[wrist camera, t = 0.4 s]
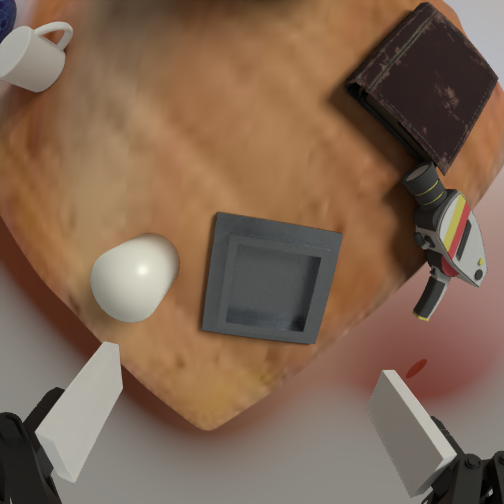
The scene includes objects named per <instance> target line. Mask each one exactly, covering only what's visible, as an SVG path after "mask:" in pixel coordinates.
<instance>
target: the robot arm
mask: <svg viewBox="0 0 504 504" xmlns="http://www.w3.org/2000/svg"><path fill="white" fill-rule="evenodd" d="M122 389H123V386H122V377H121V368H120V356H119V345H118V344H113V343H109V342H105V341H104V343H103V344H102V345H101V346H100V348H99V349H98V350H97V351H96V353H95V354H94V355H93V356H92V357H91V359H90V360H89V361H88V362H87V364H86V365H85V366H84V367H83V369H82V370H81V371H80V372H79V374H78V375H77V376H76V377H75V379H74V380H73V382H72V383H71V384H70V385H69V387H68V388H67V389H66V390H64V389H61V388H58V387H56V388H54V389H52V390H50V391H49V392H47V393H46V395H45V396H44V397H43V398H42V401H40V402H39V403H38V404H37V407H35V408H34V409H33V411H32V412H31V413H30V414H29V416H28V417H27V418H26V420H25V421H24V422H23V423H22V421H21V419H20V418H19V417H18V416H17V415H16V414H13V413H9V412H4V413H0V504H10V497H11V501H12V504H62V503H61V500H60V498H59V495H58V493H57V490H56V487H55V485H54V482H53V479H52V477H51V475H50V474H51V472H52V470H53V468H54V470H55V472H56V473H57V475H58V476H59V477H62V478H64V479H66V480H68V481H71V482H73V483H75V482H76V480H77V478H78V475H79V473H80V471H81V469H82V467H83V465H84V463H85V461H86V459H87V457H88V455H89V453H90V451H91V449H92V447H93V445H94V442H95V441H96V438H97V437H98V435H99V433H100V431H101V429H102V427H103V425H104V423H105V421H106V419H107V417H108V415H109V413H110V411H111V410H112V408H113V406H114V404H115V402H116V400H117V398H118V396H119V394H120V393H121V391H122ZM366 411H367V413H368V415H369V417H370V419H371V421H372V423H373V425H374V427H375V429H376V431H377V433H378V434H379V436H380V438H381V440H382V442H383V444H384V446H385V448H386V450H387V452H388V454H389V456H390V458H391V460H392V462H393V464H394V466H395V468H396V470H397V472H398V474H399V476H400V478H401V480H402V482H403V484H404V486H405V488H406V490H407V492H408V494H409V496H410V498H411V497H414V496H417V495H420V494H423V493H424V492H425V491H426V490H427V489H428V488H429V487H430V486H431V487H432V488H433V491H432V492H431V493H430V494H429V495H428V496H427V497H426V498H425V499H424V500H423V501H422V503H421V504H424V503H425V502H426V501H427V500H428V502H427V504H504V451H498V452H497V453H495V455H494V456H493V457H492V458H491V459H488V460H481V459H480V458H479V457H478V456H476V455H474V454H464V452H463V451H462V449H461V448H460V447H459V446H458V444H457V443H456V441H455V440H454V439H453V437H452V436H451V435H450V433H449V432H448V431H447V430H446V428H445V427H444V425H443V424H442V423H441V422H440V421H439V420H438V419H436V418H435V417H434V416H431V417H430V416H429V415H428V414H427V412H426V411H425V410H424V408H423V407H422V406H421V404H420V403H419V402H418V400H417V399H416V398H415V396H414V395H413V394H412V392H411V391H410V390H409V389H408V387H407V386H406V385H405V383H404V382H403V381H402V380H401V378H400V377H399V376H398V375H397V373H396V372H395V370H383V371H382V372H381V375H380V377H379V380H378V382H377V385H376V387H375V389H374V392H373V394H372V396H371V398H370V401H369V403H368V405H367V407H366ZM491 489H492V490H493V494H492V495H491V496H489V493H488V492H489V491H490V490H491Z"/></svg>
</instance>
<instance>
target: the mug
mask: <svg viewBox="0 0 504 504" xmlns="http://www.w3.org/2000/svg"><path fill="white" fill-rule="evenodd" d="M56 30H65V32H64V35H63V37H62V39H61V40H60V41H59V43H58V44H54V43H53V42H51V41H50V40H48V39H47V38H45V37H44V36H42V35H43V34H46V33H48V32H52V31H56ZM72 36H73V29H72V27H71V26H70V25H69V24H68V23H65V22H53V23H49V24H46V25H43V26H41V27H39V28H37V29H35V30H33V29H31V28H30V27H28V26H21V27H18V28H16V29H15V30H13V31H12V32H11V33H9V34H8V35H7V36H6V37H5V39H4V40H3V41H2V42H1V44H0V80H2V81H5V82H8V83H11V84H14V85H17V86H19V87H22V88H25V89H28V90H30V91H33V92H41V91H44V90H46V89H47V88H49V87H50V86H51V85H52V84H53V83H54V82H55V81H56V80H57V78H58V77H59V76H60V74H61V72H62V70H63V67H64V64H65V52H64V51H63V49H64V48H65V47H66V46H67V44H68V43H69V42H70V40H71V38H72Z"/></svg>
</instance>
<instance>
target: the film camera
mask: <svg viewBox="0 0 504 504" xmlns="http://www.w3.org/2000/svg"><path fill="white" fill-rule="evenodd" d="M401 184H402V185H403V186H404V187H405V188H406V189H407V190H408V191H409V192H410V193H411V194H412V195H413V196H414V198H415V199H416V201H417V202H418V204H419V207H418V208H417V210H416V211H415V213H414V221H415V223H416V233H415V234H414V235H413V238H414V240H415V242H416V244H417V245H418V247H421V248H422V249H427V255H426V256H427V262H428V264H429V266H430V267H431V269H432V270H431V271H430V273H431V274H432V275H431V276H430V277H429V280H428V283H427V285H426V287H425V290H424V292H423V294H422V296H421V298H420V300H419V301H418V303H417V305H416V306H415V308H414V310H413V314H414V315H415V316H416V317H417V318H419V319H422V320H426V321H428V320H429V317H430V316H431V315H432V313H433V312H434V310H435V309H436V307H437V306H438V304H439V302H440V301H441V299H442V297H443V295H444V293H445V291H446V289H447V286H448V283H449V281H450V278H451V277H455V276H456V277H457V278H459V279H461V280H463V281H465V282H467V283H469V284H471V285H473V286H475V287H477V288H479V286H480V285H481V283H482V281H483V278H484V276H485V274H486V272H487V262H486V255H485V249H484V244H483V238H482V234H481V230H480V227H479V224H478V222H477V219H476V217H475V215H474V213H473V211H472V209H471V207H470V205H469V203H468V202H467V200H466V198H465V197H464V195H463V194H462V192H461V191H457V190H456V189H445V188H444V186H443V184H442V182H441V181H440V179H439V178H438V174H437V172H436V169H435V166H434V164H433V161H431V160H428V161H424V162H422V163H420V164H418V165H417V166H415V167H414V168H412V169H411V170H410V171H408V172H407V173H406V174H405V175H404V176H403V178H402V180H401Z"/></svg>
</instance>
